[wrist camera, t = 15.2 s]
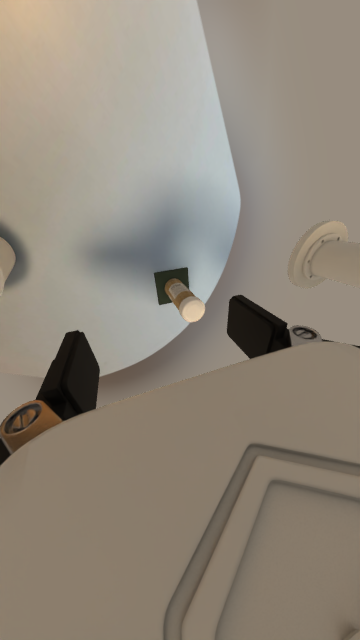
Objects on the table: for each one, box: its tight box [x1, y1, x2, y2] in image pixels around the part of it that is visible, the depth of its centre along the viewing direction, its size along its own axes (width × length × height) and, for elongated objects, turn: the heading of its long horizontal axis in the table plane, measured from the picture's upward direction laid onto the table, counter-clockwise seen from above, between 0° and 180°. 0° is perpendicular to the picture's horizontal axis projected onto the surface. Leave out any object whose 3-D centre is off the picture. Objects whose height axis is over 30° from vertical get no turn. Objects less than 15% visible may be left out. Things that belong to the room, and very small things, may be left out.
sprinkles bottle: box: [165, 278, 205, 322], centre depth 36 cm, size 5×5×13 cm
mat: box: [154, 268, 189, 305], centre depth 42 cm, size 8×8×1 cm
